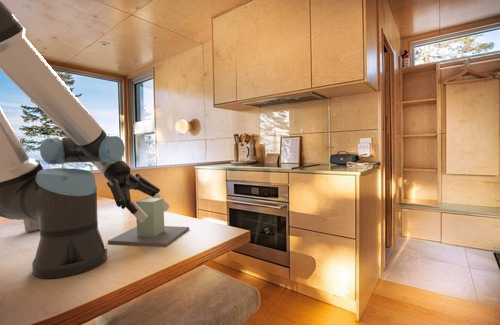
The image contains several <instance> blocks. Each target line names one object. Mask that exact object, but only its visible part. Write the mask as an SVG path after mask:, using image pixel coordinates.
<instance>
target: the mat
mask: <svg viewBox="0 0 500 325" xmlns="http://www.w3.org/2000/svg"><path fill="white" fill-rule="evenodd" d="M188 229H189V230H190V227H189V226H173V225H170V226H169V225H164V230H165V231H164V232H162V233H160V234H159V235H157V236H155V237H145V236H137V226H135V227H132V228H131V229H129V230H127V231H125V232H123V233H120V234H119V235H117V236H115V237H112V238H110V239H109V240H107V244H116V245H117V244H118V245H136V246H149V247H150V246H151V247H153V246H154V247H156V246H157V247H167V246H169V245H170V244H171V243H173V242H174V241H176V240H177V239H178V238H179V237H181V236H182V235H184V234H185V233H186V232H188V231H189V230H188ZM187 230H188V231H187ZM184 232H185V233H184ZM183 233H184V234H183Z"/></svg>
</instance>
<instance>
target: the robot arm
mask: <svg viewBox="0 0 500 325" xmlns="http://www.w3.org/2000/svg"><path fill="white" fill-rule="evenodd" d="M0 70H1V72H3V73H4V74H5V75H6V76H7V78H8V79H10V81H12V82H13V83H14V85H16V86H17V87H18V88H19V89H20V90H21V91H22V92H23V93H24V94H25V95H26V97H28V98H29V99H30V100H31V102H33V103H34V104H35V105H36V107H38V108H39V109H40V110H41V111H42V112H43V113H44V114H45V115H46V117H48V118H49V119H50V120H51V121H52V122H53V123H54V124H55V125H56V126H57V127H58V128H59V129H60V130H61V131H62V132H63V133H64V134H65V135H66V136H61V137H59V136H54V137H48V138H45V139H44V140H42V142H41V143H40V146H39V152H40V153H39V154H40V156H41V159H42V160H43V161H44V162H45V163H47V164H48V165H63V164H66V163H67V164H69V163H81V164H82V163H92V165H93V166H95V168H97V170H98V171H99V172H100V173H101V174H102V175H103V177H104V178H105V179H106V180H107V183H106V185H107V186H108V187H109V189H110V192H111V194H112V196H113V199H114V202H115V204H116V206H117V207H118V208H121V210H125V209H127V210H128V211H129V212H130V214H132V215H133V216H134V217H135V218H137V219H138V220H139V221H140V222H141V223H143V222H144V221H145V219H146V218H147V217H148V215H147V214H146V213H145V212H144V211H143V210H142V209H141V208H140V207H139V206H138V205H137V204H136V201H135V200H132V199H131V193H130V190H135V191H140V192H141V193H143V194H146V195H147V196H149V197H150V198H163V197H162V196H161V194H160V191H161V189H160V188H159V187H158V186H156V185H154V184H152V182H150V181H148V180H147V179H145V178H144V177H142V175H141V174H139V173H136V174H135V175H133V174H131V170H132V169H131V166H129V165H128V164H127V163H126V161H125V160H123V156H124V154H125V150H126V148H125V143H124V140H123V139H122V138H121V137H120V136H119V135H114V134H107V132H106V131H105V130H104V129H103V128H102V127H101V126H100V124H99V123H98V122H97V121H96V120H95V118H94V117H93V116H92V114H91V113H90V112H89V111H88V110H87V109H86V108H85V106H84V105H83V103H81V102H80V100H79V99H78V97H76V96H75V94H74V93H73V92H72V91H71V90H70V88H69V87H68V86H67V85H66V84H65V82H64V81H63V80H62V79H61V78H60V77H59V76H58V74H57V73H56V72H55V70H54V69H53V68H52V67H51V66H50V65H49V63H48V62H47V61H46V60H45V59H44V57H43V56H42V54H40V53H39V51H38V50H37V49H36V48H35V47H34V46H33V44H32V43H31V42H30V41H29V39H28V38H27V37H26V28H25V27H24V25H23V24H22V23H21V21H20V20H19V19H18V18H17V17H16V16H15V15H14V14H13V12H12V11H11V10H10V9H9V8H8V7H7V6H6V5H5V4H4V2H2V1H1V0H0ZM97 190H98V188H97V184H96V178H95V175H94V173H93V172H91V171H89V170H87V169H81V168H68V167H67V168H66V167H65V168H64V167H60V168H59V167H57V168H56V167H55V168H44V167H43V165H42V164H41V162H40V161H39V160H38V159H35V158H32V157H30V156H29V155H28V154H27V152H26V149H25V148H24V146H23V145H22V143H21V141H20V140H19V138H18V136H17V134H16V132H15V131H14V129H13V127H12V125H11V124H10V122H9V120H8V117H6V115H5V113H4V111H3V109H2V107H1V106H0V217H1V218H5V219H7V220H17V221H20V220H23V221H24V220H37V221H39V224H40V231H39V236H40V238H39V242H38V246H37V249H36V254H35V257H34V259H33V261H32V263H31V268H32V275H33V276H34V277H36V278H39V279H57V278H58V279H59V278H65V277H71V276H74V275H78V274H81V273H85V272H87V271H90V270H93V269H94V268H96V267H98V266H100V265H102V264H103V263H105V262H106V261H107V259H108V249H107V246H106V245H105V244H104V241H103V239H102V238H103V237H102V235H101V233H100V230H99V222H98V196H97V195H98V194H97ZM163 204H164V213H165V212H167V211H168V210H169V209H170V208H171V205H170V204H169V203H168V202H167V201H166V200H165V198H163ZM137 219H136V220H137Z"/></svg>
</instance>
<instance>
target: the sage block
mask: <svg viewBox="0 0 500 325" xmlns="http://www.w3.org/2000/svg"><path fill="white" fill-rule="evenodd" d="M163 199H164V197H162V198H153V197H146V198H142V199H139V200H136V201H135V203H136V204H137V205H138V206H139V207H140V208H141V209H142V210H143V211H144V212H145V213H146V214H147V215H148V217H147V218H146V219H145V221H144V222H143V223H141V222H140V221H139V220H138V219H137V218H136V217H135V218H136V227H137V236H145V237H155V236H157V235H159V234H160V233H162V232H164V231H165V230H164V226H165V212H164V204H163Z"/></svg>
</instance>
